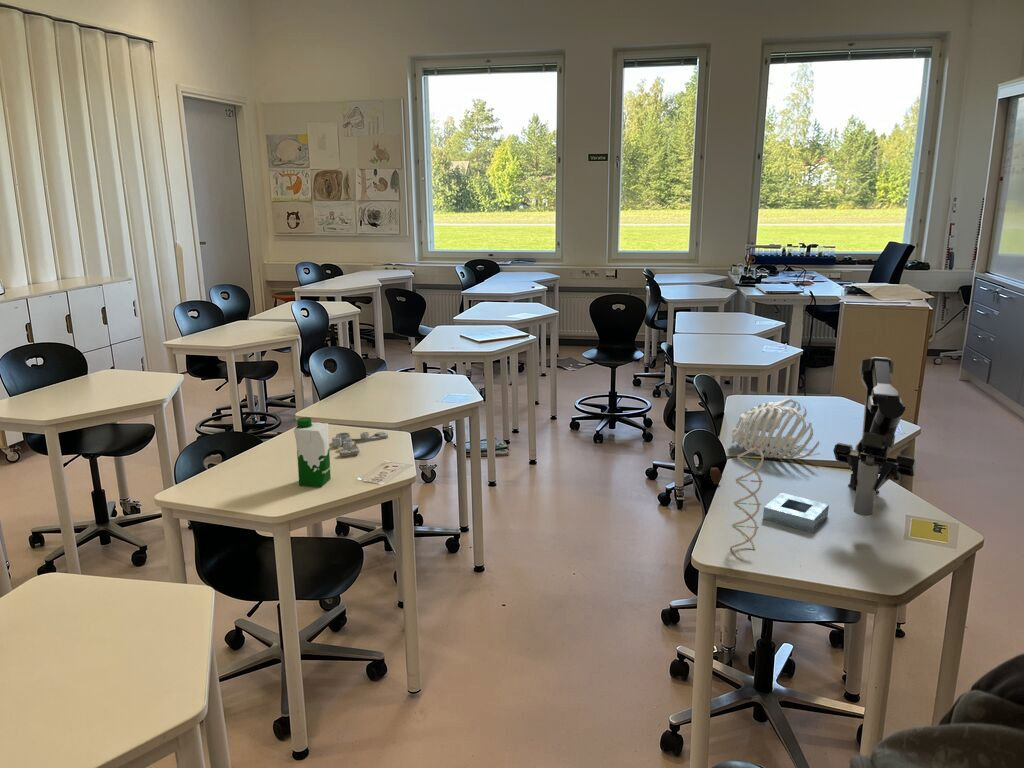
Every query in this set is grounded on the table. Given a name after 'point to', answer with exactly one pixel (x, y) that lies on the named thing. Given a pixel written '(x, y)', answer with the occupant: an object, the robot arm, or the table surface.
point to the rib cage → (768, 422)
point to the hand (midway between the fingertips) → (864, 488)
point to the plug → (866, 487)
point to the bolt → (715, 475)
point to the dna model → (749, 491)
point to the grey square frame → (796, 512)
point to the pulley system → (346, 442)
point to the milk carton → (312, 453)
